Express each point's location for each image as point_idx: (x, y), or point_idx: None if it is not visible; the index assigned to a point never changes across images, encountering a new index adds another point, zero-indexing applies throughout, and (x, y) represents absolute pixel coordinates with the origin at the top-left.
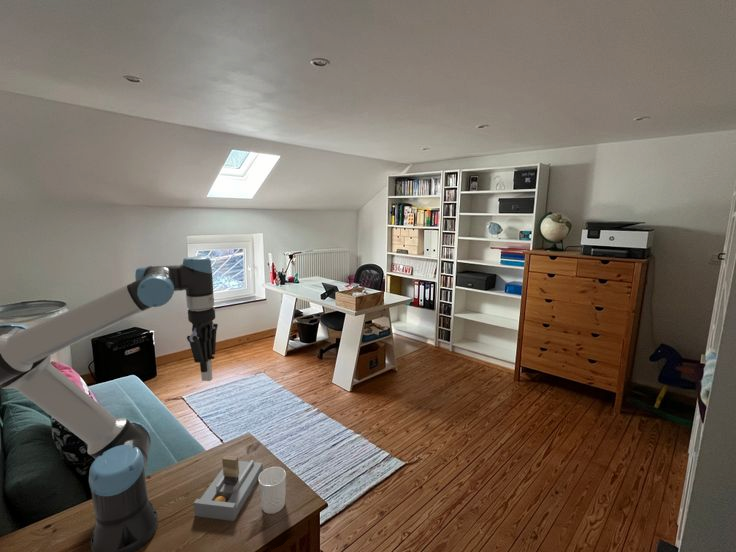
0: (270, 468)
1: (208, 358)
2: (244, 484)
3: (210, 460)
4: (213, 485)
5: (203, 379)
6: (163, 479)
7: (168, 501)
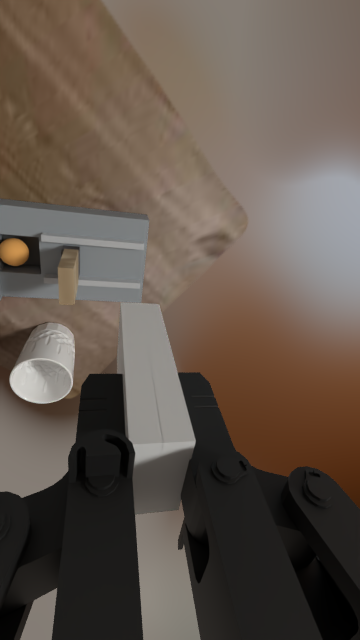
0: (66, 369)
1: (185, 507)
2: None
3: (172, 148)
4: (54, 219)
5: (120, 320)
6: (85, 21)
7: (8, 94)
